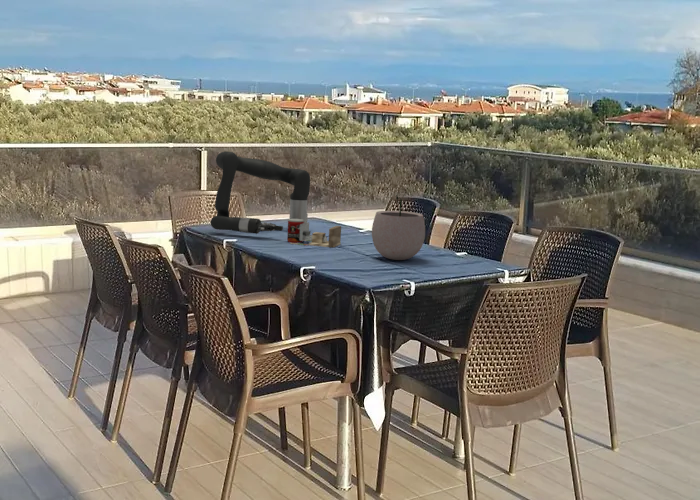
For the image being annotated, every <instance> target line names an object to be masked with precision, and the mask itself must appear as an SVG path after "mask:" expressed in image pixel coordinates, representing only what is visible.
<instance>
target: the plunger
mask: <svg viewBox="0 0 700 500" xmlns="http://www.w3.org/2000/svg"><path fill="white" fill-rule="evenodd" d="M299 240H300V241H303V240H309V241H308V242H311V241H312V234H311V230H310V222H308V221H307V222H305V223H302V224H300V238H299ZM327 241H328V236H326V235H325V236H323V242H327ZM303 242H304V241H303Z"/></svg>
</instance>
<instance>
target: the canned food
mask: <svg viewBox="0 0 700 500" xmlns="http://www.w3.org/2000/svg"><path fill="white" fill-rule="evenodd" d="M302 223H304V220H302V219H289V218H288V219H287V239H286V240H287V242H288V243H289V244H290V243H300V244H303V242H304V241H300V240H299V238H300V224H302Z"/></svg>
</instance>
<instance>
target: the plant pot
mask: <svg viewBox="0 0 700 500" xmlns="http://www.w3.org/2000/svg"><path fill="white" fill-rule="evenodd" d="M405 195H406V194H405V193H404V194H403V195H402V198H400V196H398V195H397V194H396V202H397V204H399V210H379V211H376V212H375V216H374V219H373V220H372V221H373V223H372V226H371V238H372V242H373V245H374V248H375V250H376V251H377V252H378V253H379V254H380V255H381V256H382V257H384V258H386V259H389V260H393V261H405V260H409V259H411V258H413V257H415V256H416V255H417V254H418V253H419V252H420V251H421V249H422V247H423V244H424V241H425V239H426V225H425V218H424V215H423V214H422V213H418V212H413V211H405V210H403V211H402V200H403V198H404V196H405ZM399 199H400V201H399Z"/></svg>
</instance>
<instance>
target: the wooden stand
mask: <svg viewBox="0 0 700 500" xmlns="http://www.w3.org/2000/svg"><path fill="white" fill-rule="evenodd" d="M328 229H329V231H328V240H327V242H323V236H326V234H327V233H326V232H321V231H320V232H319V231H318V232H317V231H314V232H313V233H311V235H312V241H309V240H303V242H309V243H290V242H289V245H299V246H314V247H321V248H322V247H324V248H336V247H338V246H340V245H341V239H342V238H341V237H342V226H341V225H335V226H332V227H330V228H328Z"/></svg>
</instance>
